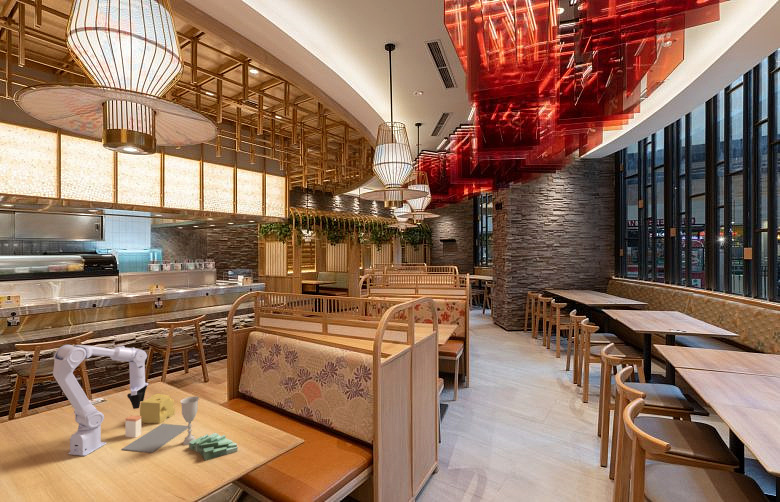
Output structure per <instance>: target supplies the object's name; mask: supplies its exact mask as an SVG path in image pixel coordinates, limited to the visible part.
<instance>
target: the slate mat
mask: <svg viewBox="0 0 780 502" xmlns="http://www.w3.org/2000/svg"><path fill="white" fill-rule="evenodd" d="M186 430H188V425H183V424H182V425H181V424H173V423H172V424H171V423H170V424H168V423H162V424H161V423H160V424H159V425H158V426H157V427H155V428H153V429H152V430H150V431H148V432H146V433H145V434H143V435H142V436H140V437H138V438H137V439H135V440H133V441H132V442H131V443H129V444H127V445H126V446H124V447H122V448H121V451H130V452H138V453H140V452H141V453H149V454H150V453H151V454H152V453H154V452H156V451H158V449H160V448H161V447H163V446H165V445H166V444H167V443H169V442H170V441H171V440H173V439H175V438H177V436H179V435H180V434H181V433H183V432H184V431H186Z"/></svg>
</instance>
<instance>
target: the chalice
mask: <svg viewBox="0 0 780 502" xmlns="http://www.w3.org/2000/svg"><path fill="white" fill-rule="evenodd" d="M199 400H200V397H199V396H195V395H194V396H188V397H185V398H183V399H181V400H179V401H180V404H181V414H182V418H183V419H184V421H185V422H186V423H187V424H188V425H187V426H188V428H187V436H185V437H184V440H183V442H182V445H184V446H189V442H191V441H193V440H196V439H197V438H196V437H195V435H194V434H192V431H193V430H192V427H193V426H192V424H191V423H192V422H193V421H194V419H196V415H197V413H198V405H199V404H198V403H199Z"/></svg>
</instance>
